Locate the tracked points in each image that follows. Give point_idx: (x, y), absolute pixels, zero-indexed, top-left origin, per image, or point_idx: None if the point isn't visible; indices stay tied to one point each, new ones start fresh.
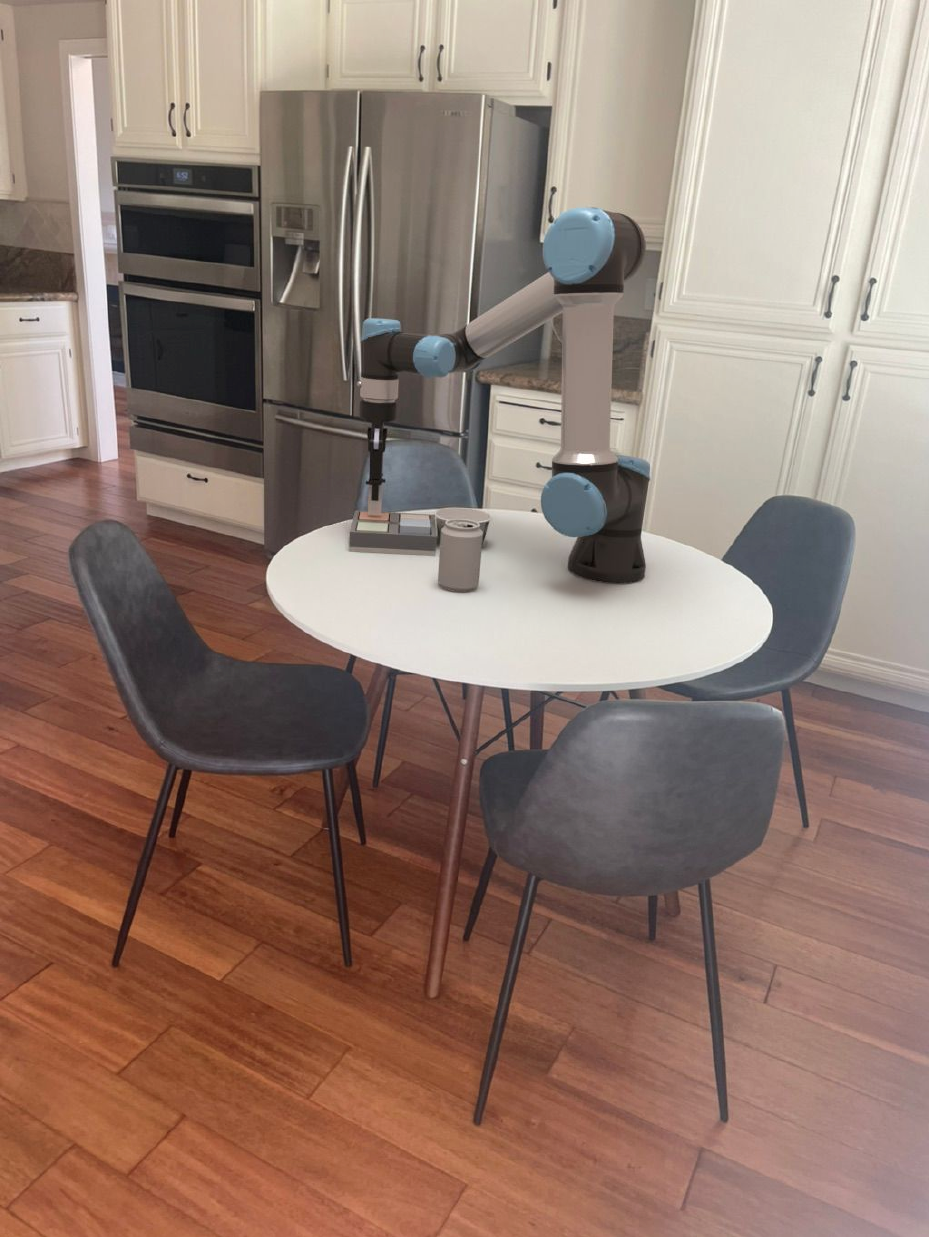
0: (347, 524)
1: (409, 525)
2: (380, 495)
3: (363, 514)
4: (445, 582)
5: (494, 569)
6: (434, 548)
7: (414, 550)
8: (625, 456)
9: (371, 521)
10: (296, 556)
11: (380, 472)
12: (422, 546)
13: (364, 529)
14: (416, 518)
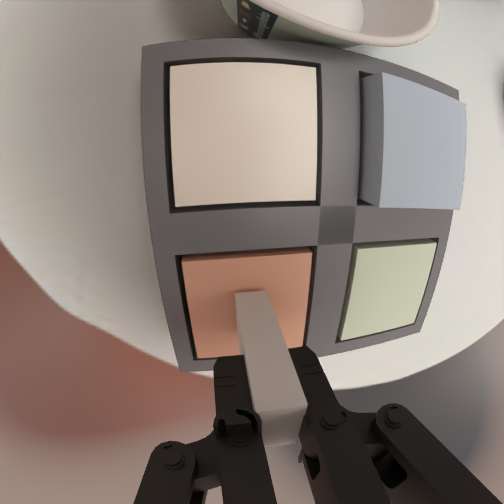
0: (147, 348)
1: (459, 176)
2: (289, 358)
3: (236, 346)
4: None
5: (452, 7)
6: None
7: None
8: None
9: (323, 308)
10: (403, 367)
11: (447, 454)
12: None
13: (413, 306)
14: (248, 122)
